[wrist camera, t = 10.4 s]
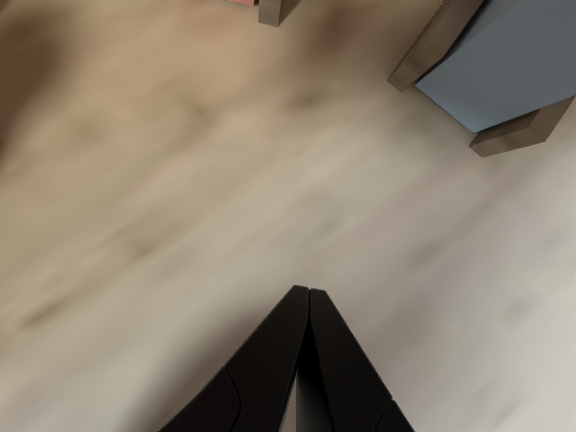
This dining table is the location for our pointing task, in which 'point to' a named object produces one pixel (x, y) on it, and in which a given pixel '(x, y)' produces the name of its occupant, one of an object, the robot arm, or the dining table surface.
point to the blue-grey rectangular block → (506, 62)
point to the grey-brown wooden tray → (269, 11)
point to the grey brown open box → (434, 46)
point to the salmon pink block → (244, 2)
